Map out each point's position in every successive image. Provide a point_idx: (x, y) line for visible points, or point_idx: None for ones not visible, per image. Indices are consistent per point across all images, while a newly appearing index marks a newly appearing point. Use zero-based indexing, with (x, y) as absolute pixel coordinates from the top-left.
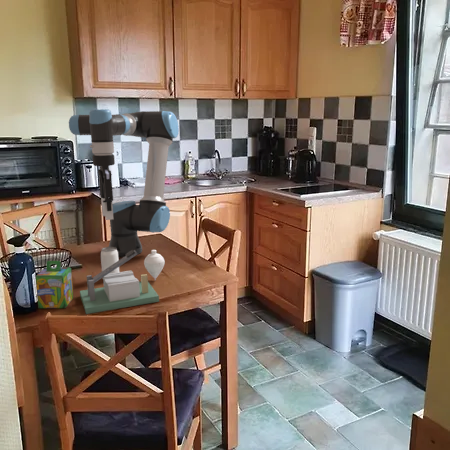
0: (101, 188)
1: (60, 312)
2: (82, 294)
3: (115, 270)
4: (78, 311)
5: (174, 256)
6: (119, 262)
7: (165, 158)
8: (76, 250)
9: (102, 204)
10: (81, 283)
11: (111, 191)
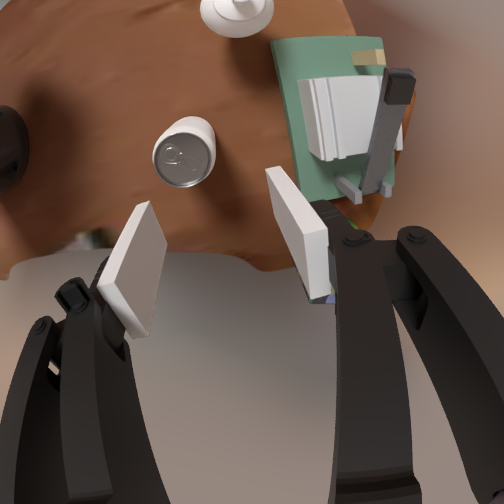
0: (145, 431)
1: (364, 225)
2: (326, 197)
3: (209, 127)
4: (372, 195)
5: (44, 7)
6: (394, 124)
7: None
8: (8, 262)
9: (154, 295)
10: (214, 209)
11: (481, 305)
